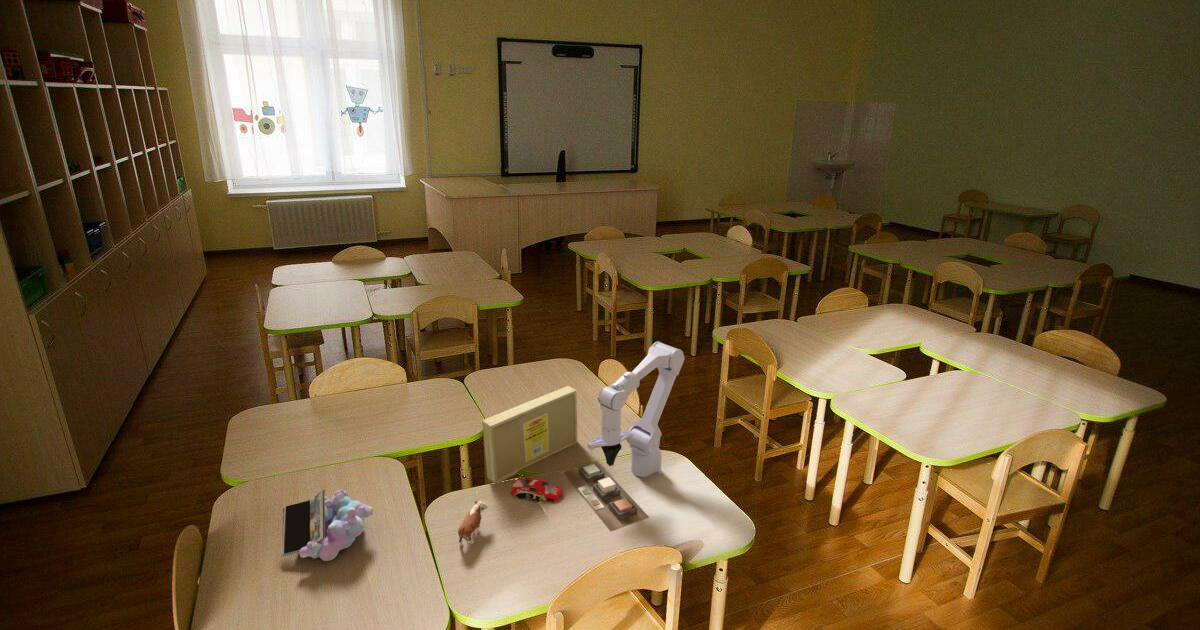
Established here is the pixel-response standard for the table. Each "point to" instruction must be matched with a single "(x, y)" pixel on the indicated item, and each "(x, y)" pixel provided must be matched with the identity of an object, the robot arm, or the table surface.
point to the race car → (536, 490)
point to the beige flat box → (529, 433)
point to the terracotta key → (622, 505)
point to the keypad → (604, 498)
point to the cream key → (606, 485)
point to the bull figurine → (471, 522)
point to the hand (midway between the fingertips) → (610, 464)
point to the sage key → (591, 470)
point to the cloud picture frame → (322, 525)
